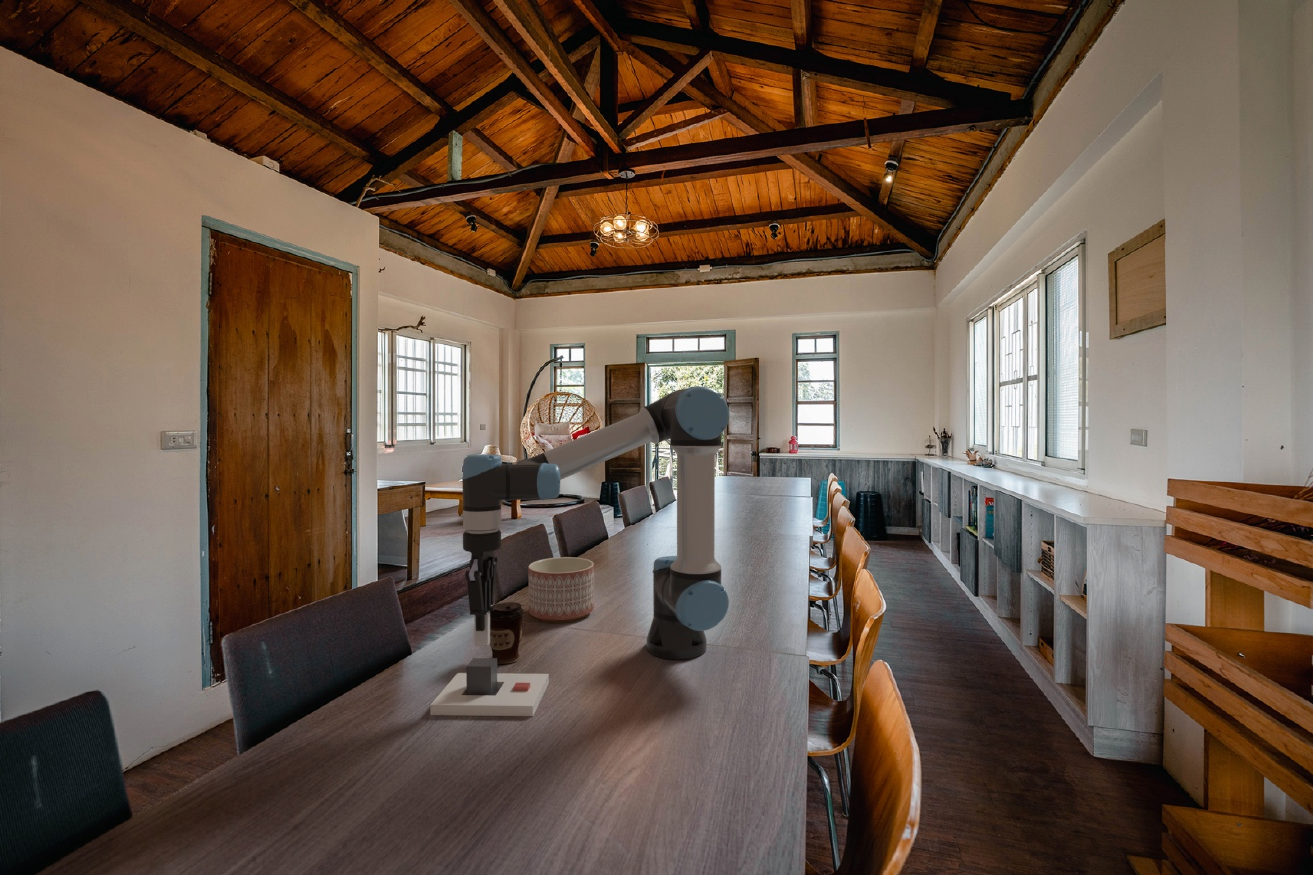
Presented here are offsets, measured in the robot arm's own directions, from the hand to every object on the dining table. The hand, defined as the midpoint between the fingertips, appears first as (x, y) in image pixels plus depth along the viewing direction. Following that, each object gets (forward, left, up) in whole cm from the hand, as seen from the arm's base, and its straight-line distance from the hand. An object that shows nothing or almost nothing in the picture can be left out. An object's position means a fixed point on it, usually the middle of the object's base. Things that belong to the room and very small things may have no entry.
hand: (482, 644), depth 115 cm
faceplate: (-2, 0, -11) cm, 11 cm away
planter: (-6, -52, -11) cm, 54 cm away
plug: (0, 0, -11) cm, 11 cm away
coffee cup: (+1, -19, -11) cm, 22 cm away
